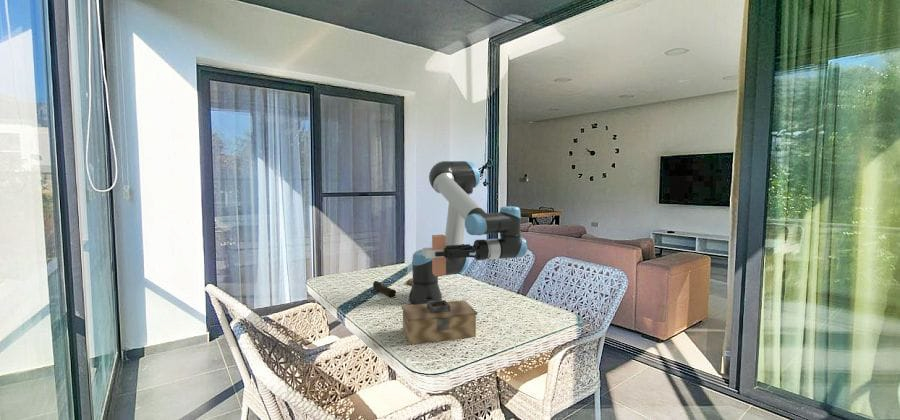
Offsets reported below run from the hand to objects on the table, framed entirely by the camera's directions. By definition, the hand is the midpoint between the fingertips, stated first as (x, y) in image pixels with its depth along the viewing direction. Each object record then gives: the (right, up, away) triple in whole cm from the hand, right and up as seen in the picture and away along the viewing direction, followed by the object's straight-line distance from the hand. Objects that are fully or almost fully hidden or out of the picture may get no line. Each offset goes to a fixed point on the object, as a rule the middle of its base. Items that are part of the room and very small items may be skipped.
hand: (424, 253), depth 145 cm
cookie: (-9, -24, +72) cm, 77 cm away
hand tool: (-24, -26, +55) cm, 66 cm away
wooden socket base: (+5, -30, +5) cm, 31 cm away
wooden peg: (+5, -8, +2) cm, 10 cm away
